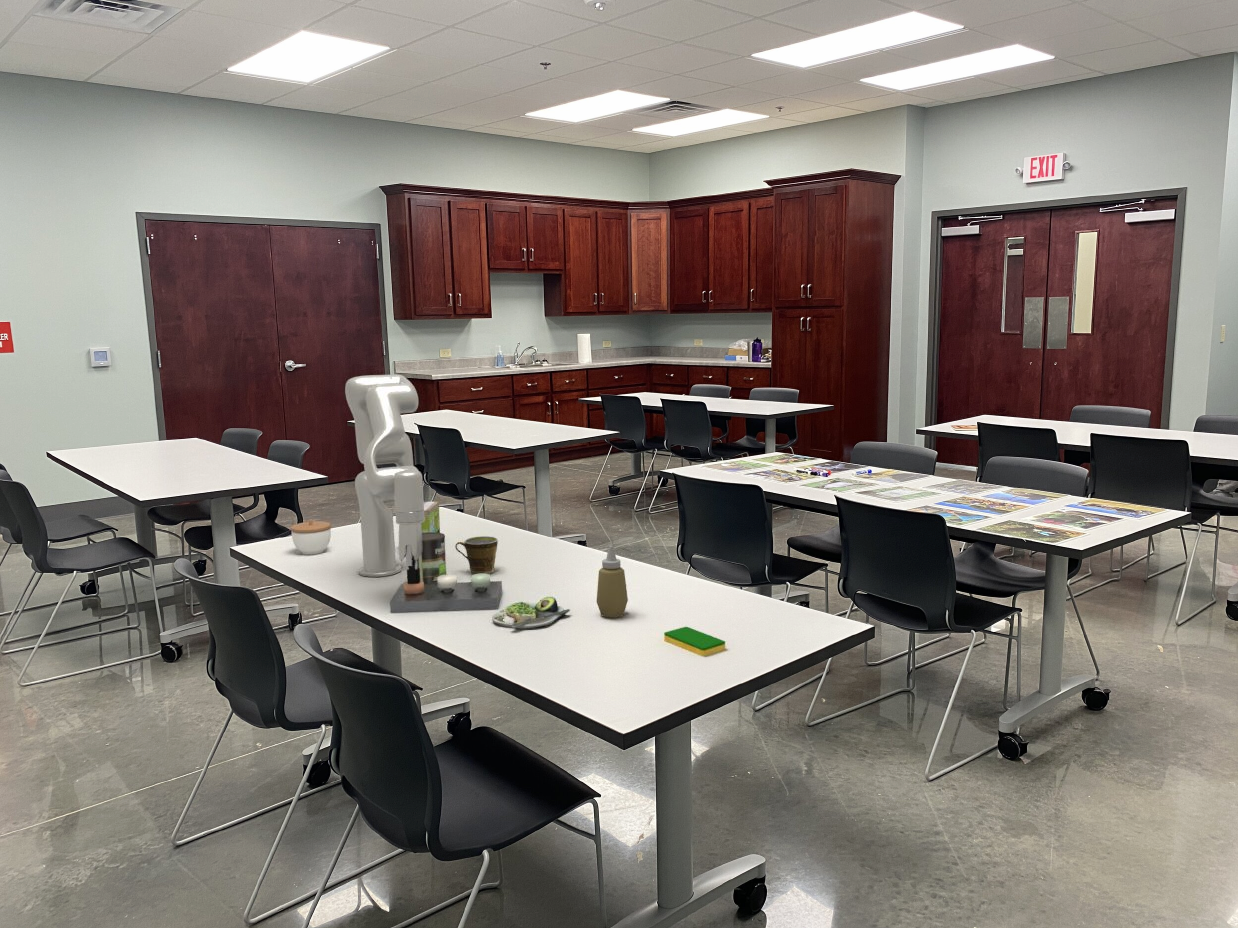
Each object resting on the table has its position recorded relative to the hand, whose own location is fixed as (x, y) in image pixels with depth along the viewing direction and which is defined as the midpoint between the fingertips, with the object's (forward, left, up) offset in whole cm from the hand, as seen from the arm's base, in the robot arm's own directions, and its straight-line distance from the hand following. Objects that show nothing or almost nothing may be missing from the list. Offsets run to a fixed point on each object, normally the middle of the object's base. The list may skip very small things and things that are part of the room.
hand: (414, 582), depth 250 cm
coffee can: (-19, +1, -6) cm, 20 cm away
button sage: (0, +18, -4) cm, 18 cm away
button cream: (0, +9, -4) cm, 10 cm away
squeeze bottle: (+16, +53, -6) cm, 56 cm away
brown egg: (0, 0, -5) cm, 5 cm away
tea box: (-62, -8, -6) cm, 63 cm away
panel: (0, +9, -6) cm, 11 cm away
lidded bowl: (-61, -44, -6) cm, 76 cm away
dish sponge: (+40, +71, -6) cm, 81 cm away
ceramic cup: (-29, +14, -6) cm, 33 cm away
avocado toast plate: (+16, +32, -6) cm, 36 cm away
